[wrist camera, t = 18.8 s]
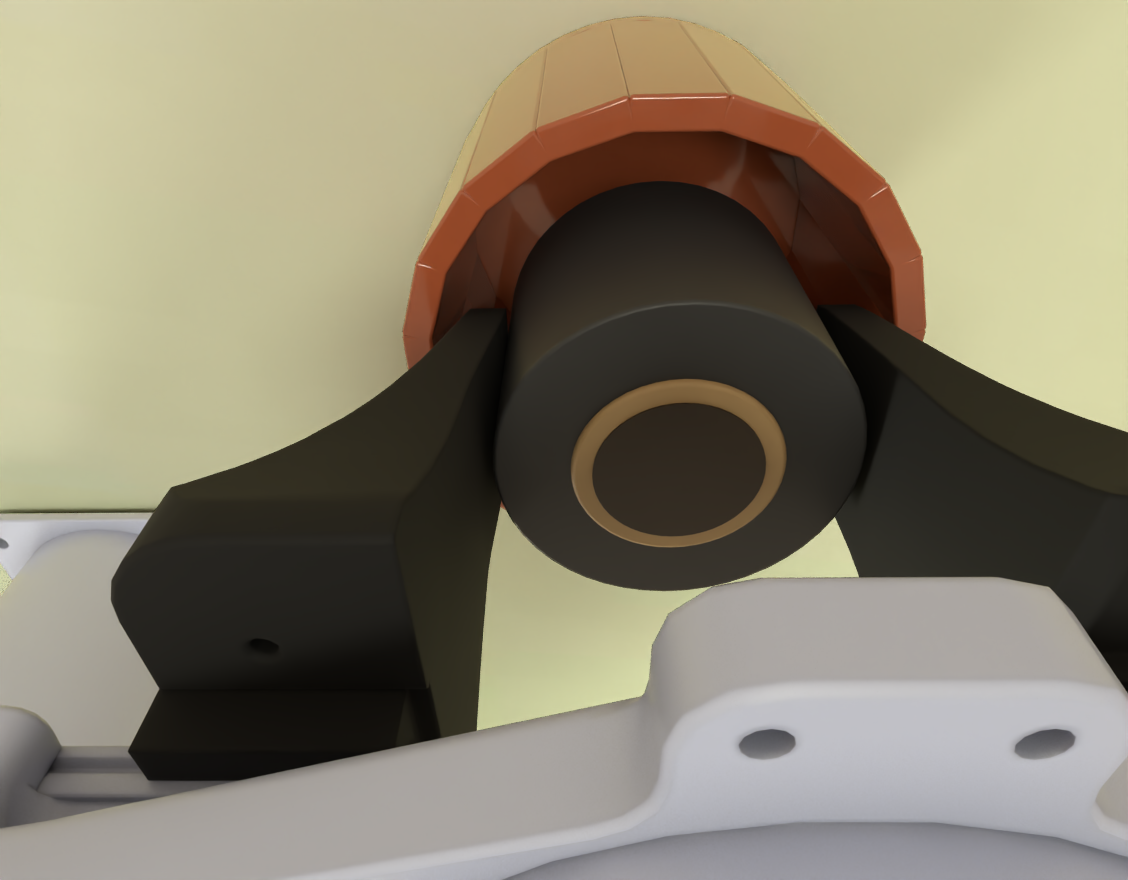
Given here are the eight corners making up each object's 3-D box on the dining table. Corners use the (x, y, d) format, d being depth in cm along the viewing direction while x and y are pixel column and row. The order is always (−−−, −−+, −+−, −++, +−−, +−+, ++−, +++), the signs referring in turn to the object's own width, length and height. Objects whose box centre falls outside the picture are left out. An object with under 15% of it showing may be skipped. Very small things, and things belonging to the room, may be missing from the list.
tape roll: (768, 428, 15) (829, 598, 12) (519, 431, 15) (504, 600, 12) (816, 176, 12) (918, 303, 9) (502, 181, 12) (475, 307, 9)
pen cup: (781, 365, 21) (858, 546, 15) (474, 368, 21) (438, 548, 15) (848, 11, 15) (1005, 88, 10) (436, 19, 15) (360, 99, 10)
